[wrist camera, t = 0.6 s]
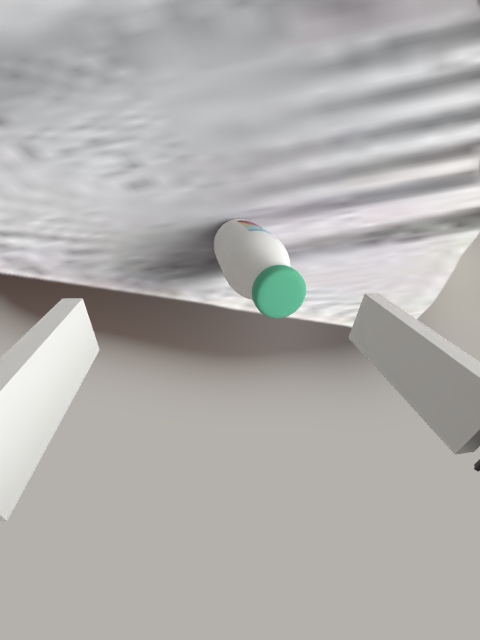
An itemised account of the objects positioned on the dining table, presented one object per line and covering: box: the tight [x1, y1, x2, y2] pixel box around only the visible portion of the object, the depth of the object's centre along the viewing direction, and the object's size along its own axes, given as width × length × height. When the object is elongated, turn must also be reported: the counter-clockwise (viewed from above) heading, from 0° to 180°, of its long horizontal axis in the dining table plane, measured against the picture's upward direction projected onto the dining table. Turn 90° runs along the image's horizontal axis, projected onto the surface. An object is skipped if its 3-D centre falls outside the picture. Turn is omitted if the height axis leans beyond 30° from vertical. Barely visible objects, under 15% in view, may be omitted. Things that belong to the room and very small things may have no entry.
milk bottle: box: [214, 219, 306, 318], centre depth 28 cm, size 8×8×20 cm
